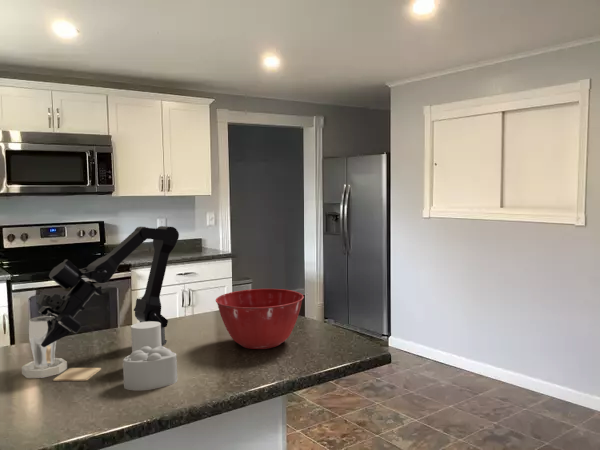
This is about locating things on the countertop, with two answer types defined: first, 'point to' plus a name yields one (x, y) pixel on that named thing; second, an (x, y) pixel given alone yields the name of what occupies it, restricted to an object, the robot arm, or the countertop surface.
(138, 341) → the cup
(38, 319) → the beer glass
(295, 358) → the countertop surface
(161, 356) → the lumpy-topped squat cylinder
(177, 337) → the countertop surface
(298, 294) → the mixing bowl
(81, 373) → the coaster
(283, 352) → the countertop surface
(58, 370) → the holder ring
